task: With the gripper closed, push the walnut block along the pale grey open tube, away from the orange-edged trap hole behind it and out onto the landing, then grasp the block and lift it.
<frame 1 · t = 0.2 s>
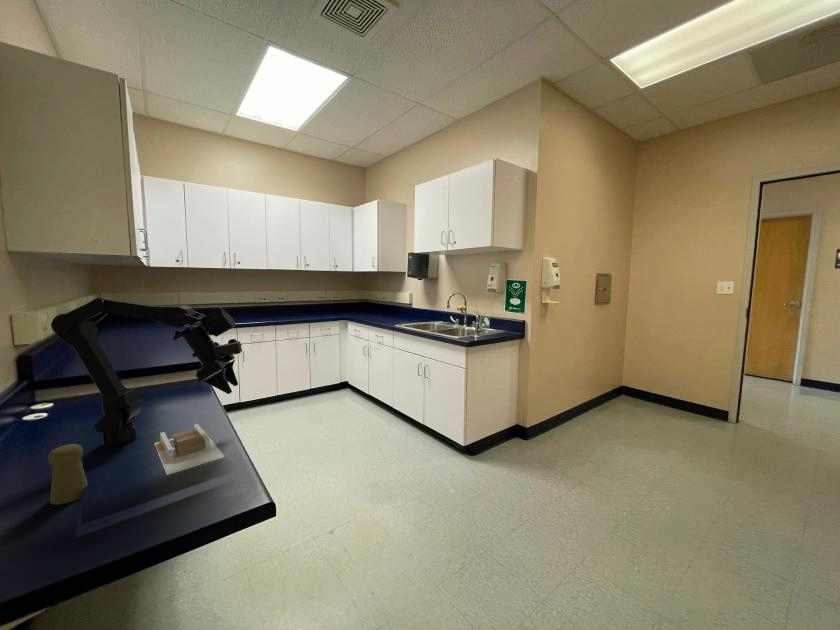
hand: (233, 389, 102), 14 cm above the counter, tool tilted 30°, fingers open, 9 cm apart
walnut block: (187, 449, 92), point 1 cm above the counter, touching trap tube
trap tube: (188, 455, 92), on the counter
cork: (70, 496, 74), on the counter
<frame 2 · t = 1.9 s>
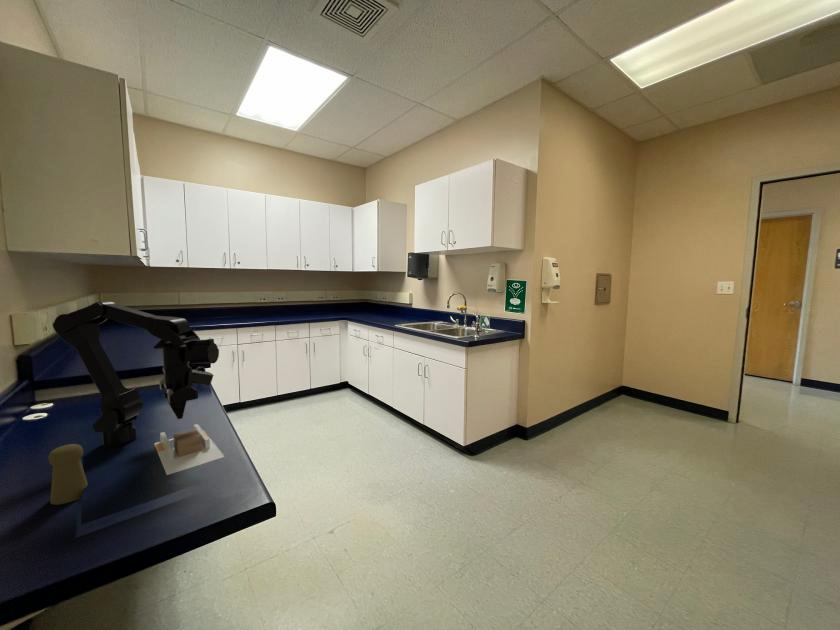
hand: (180, 418, 97), 8 cm above the counter, tool pointing down, fingers closed
nothing on the counter moved.
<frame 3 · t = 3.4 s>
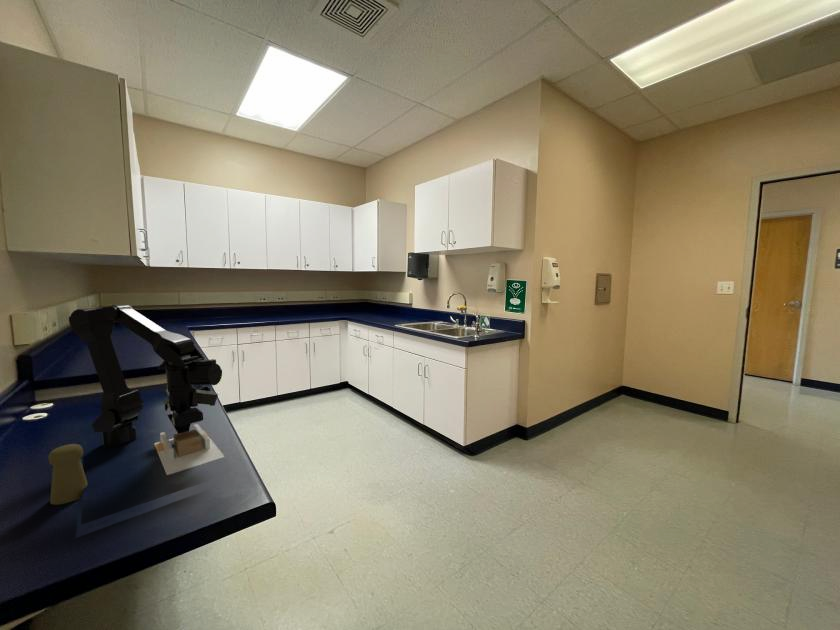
hand: (184, 439, 95), 3 cm above the counter, tool pointing down, fingers closed
walnut block: (187, 449, 92), point 2 cm above the counter, touching gripper
everything else where it was.
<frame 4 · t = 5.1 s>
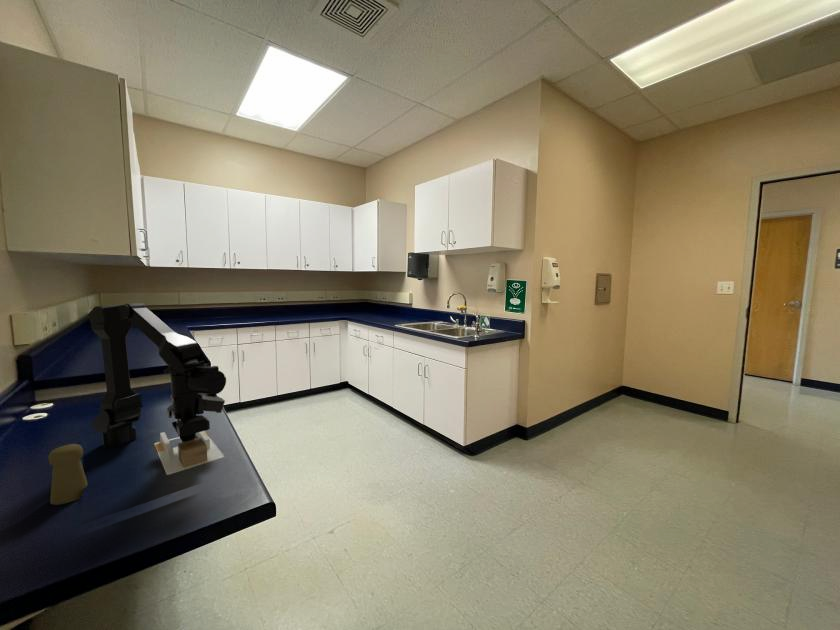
hand: (189, 448, 90), 3 cm above the counter, tool pointing down, fingers closed
walnut block: (193, 459, 86), point 1 cm above the counter, touching gripper, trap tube
everything else where it was.
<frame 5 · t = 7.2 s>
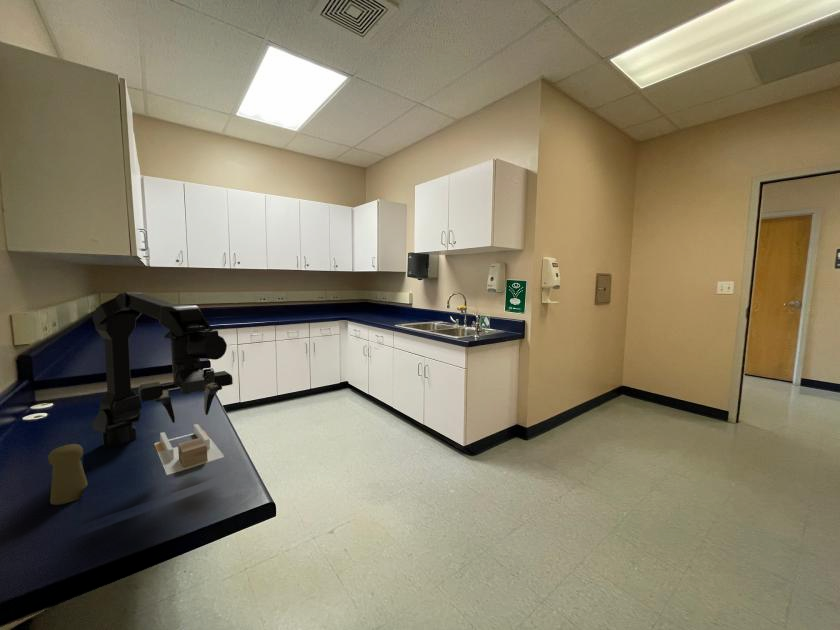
hand: (190, 418, 86), 12 cm above the counter, tool pointing down, fingers open, 7 cm apart
walnut block: (193, 459, 86), point 1 cm above the counter, touching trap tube
everything else where it was.
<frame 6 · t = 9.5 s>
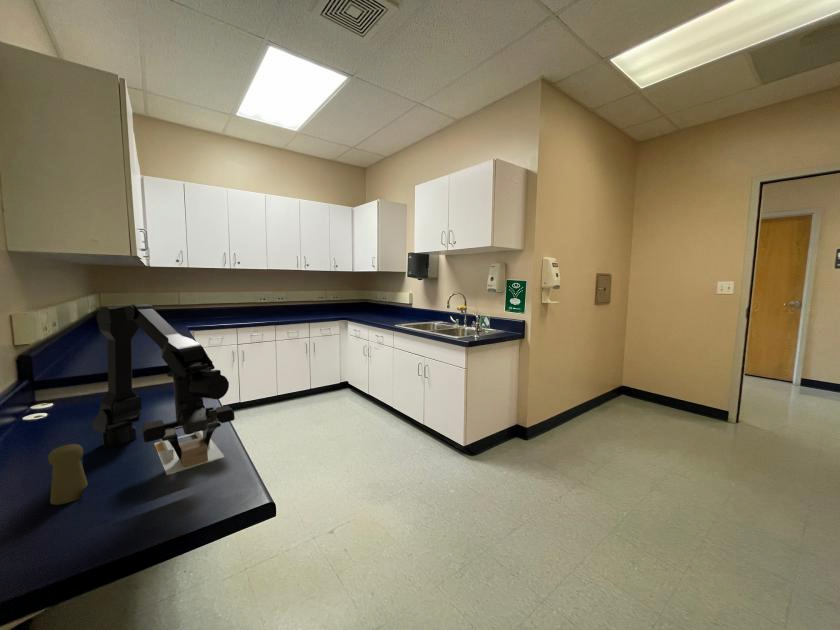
hand: (192, 454, 87), 2 cm above the counter, tool pointing down, fingers closed on walnut block, 5 cm apart
walnut block: (193, 459, 86), point 2 cm above the counter, touching gripper, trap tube
everything else where it was.
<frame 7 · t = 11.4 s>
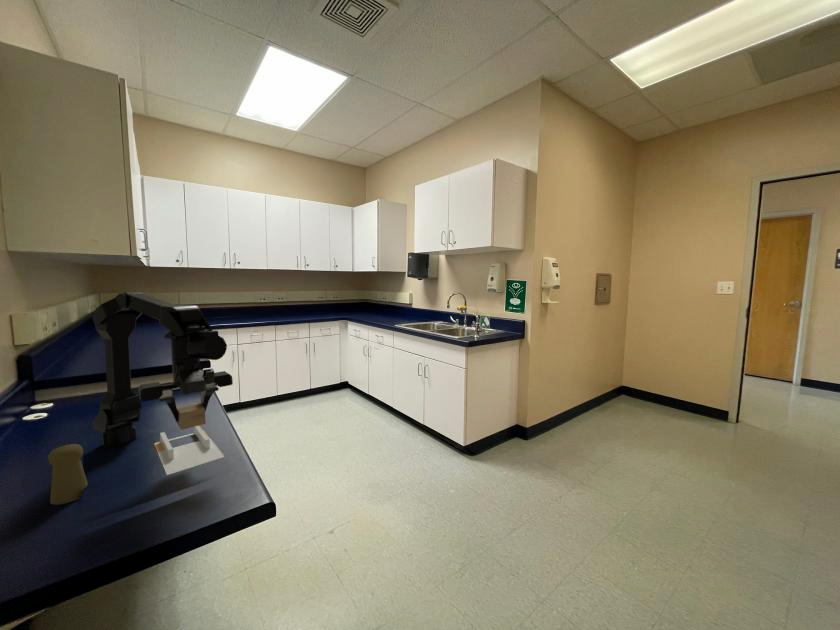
hand: (190, 418, 86), 12 cm above the counter, tool pointing down, fingers closed on walnut block, 5 cm apart
walnut block: (191, 423, 86), point 11 cm above the counter, touching gripper
everything else where it was.
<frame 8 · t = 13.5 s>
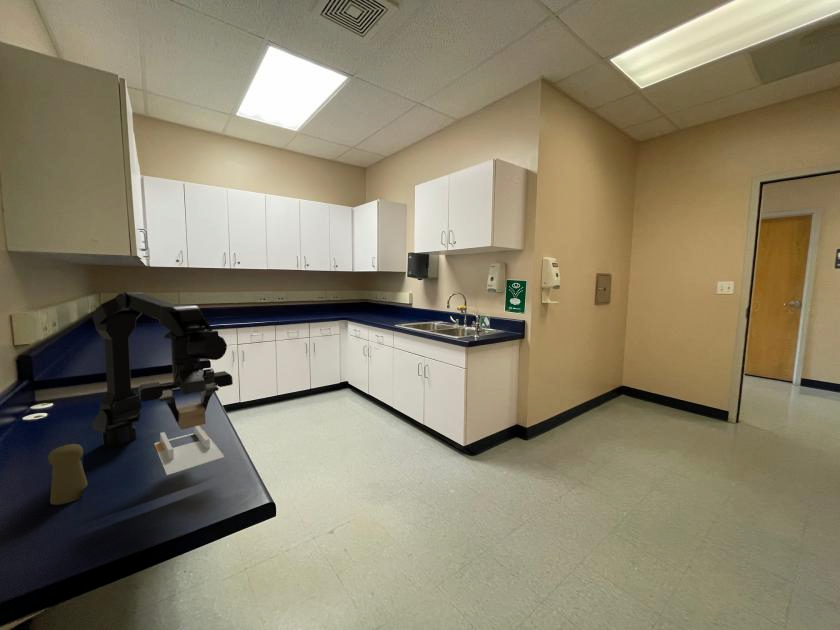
hand: (190, 418, 86), 12 cm above the counter, tool pointing down, fingers closed on walnut block, 5 cm apart
walnut block: (191, 423, 86), point 11 cm above the counter, touching gripper
everything else where it was.
at the end: the gripper is holding walnut block; walnut block point 11.0 cm above the counter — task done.
